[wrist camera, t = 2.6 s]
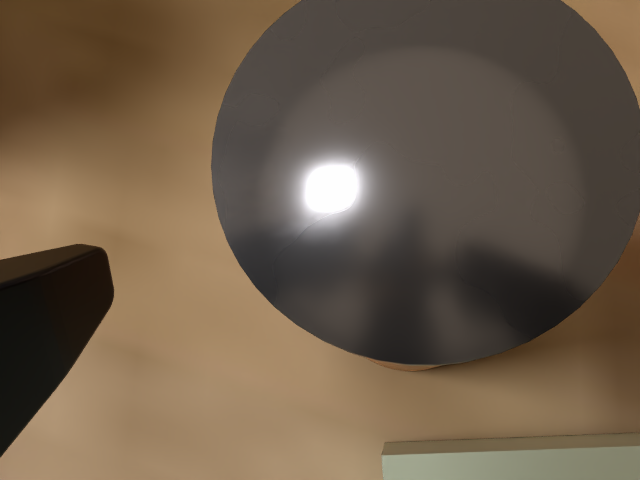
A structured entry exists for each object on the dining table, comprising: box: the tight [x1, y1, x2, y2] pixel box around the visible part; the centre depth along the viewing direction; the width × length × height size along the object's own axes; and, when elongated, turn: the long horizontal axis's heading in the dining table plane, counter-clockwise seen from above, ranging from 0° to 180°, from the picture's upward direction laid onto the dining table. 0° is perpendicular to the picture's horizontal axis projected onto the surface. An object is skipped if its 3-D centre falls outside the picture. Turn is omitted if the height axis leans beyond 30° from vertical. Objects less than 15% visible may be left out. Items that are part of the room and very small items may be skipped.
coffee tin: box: [211, 0, 640, 371], centre depth 13 cm, size 5×5×12 cm
